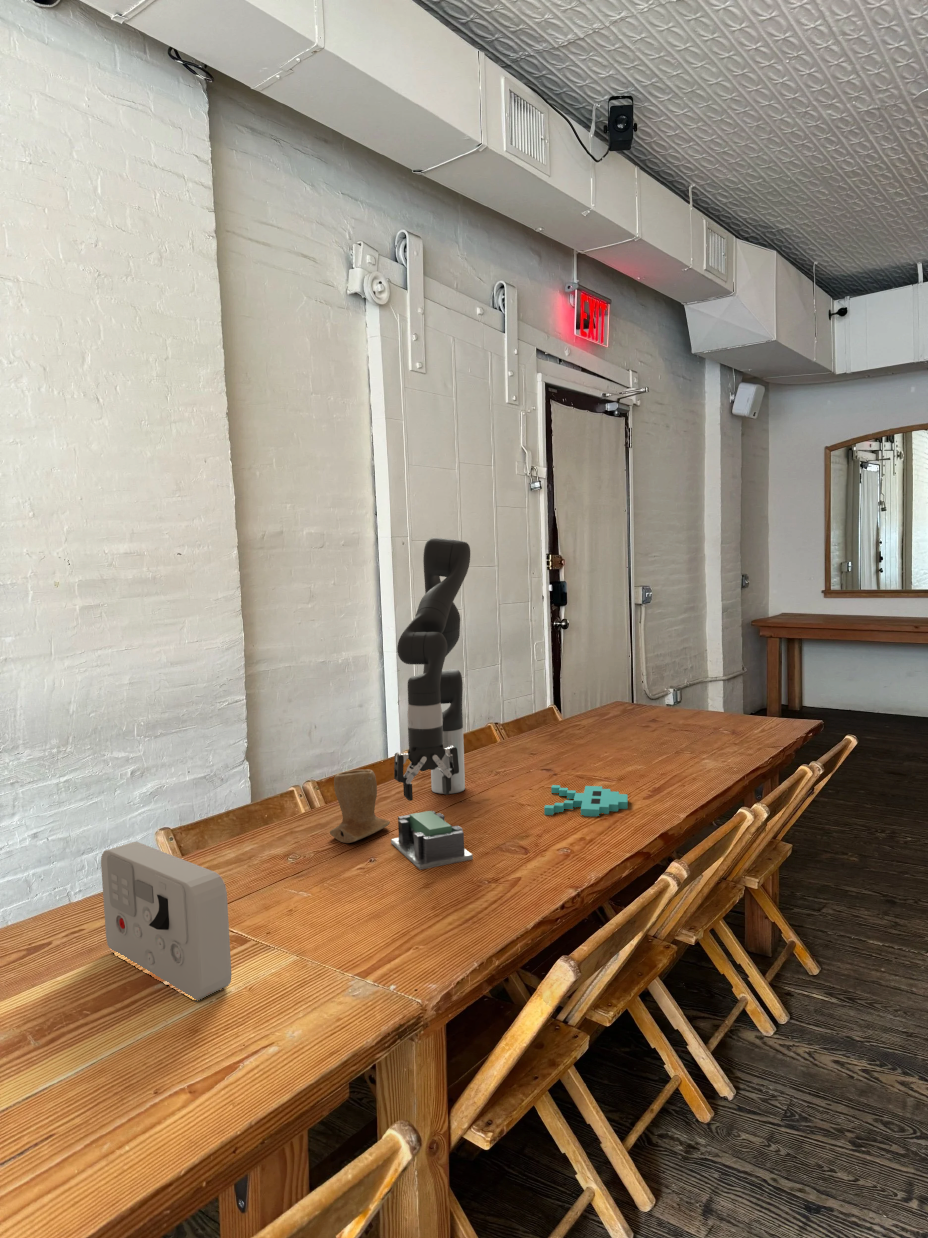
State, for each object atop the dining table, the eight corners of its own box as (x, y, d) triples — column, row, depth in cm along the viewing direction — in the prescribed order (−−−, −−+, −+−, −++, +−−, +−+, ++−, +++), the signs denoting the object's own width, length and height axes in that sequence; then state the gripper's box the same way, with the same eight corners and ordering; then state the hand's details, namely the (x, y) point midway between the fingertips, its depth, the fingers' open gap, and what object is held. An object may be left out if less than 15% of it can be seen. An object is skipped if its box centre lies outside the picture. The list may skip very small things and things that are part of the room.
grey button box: (93, 957, 138) (85, 851, 137) (136, 940, 144) (129, 838, 143) (187, 1014, 120) (180, 892, 119) (233, 991, 126) (226, 875, 124)
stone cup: (357, 821, 205) (354, 761, 204) (396, 828, 199) (394, 766, 198) (316, 840, 192) (313, 776, 191) (356, 848, 186) (353, 782, 185)
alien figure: (544, 816, 205) (627, 819, 201) (544, 808, 205) (627, 810, 201) (552, 793, 225) (627, 795, 221) (552, 785, 224) (627, 787, 220)
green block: (410, 827, 187) (409, 814, 186) (430, 823, 189) (430, 810, 188) (430, 843, 176) (429, 829, 175) (451, 839, 178) (451, 825, 177)
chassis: (391, 843, 188) (390, 817, 188) (440, 834, 193) (439, 809, 193) (419, 869, 172) (418, 841, 171) (472, 859, 177) (471, 831, 176)
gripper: (448, 716, 186) (451, 787, 188) (388, 724, 181) (391, 797, 182) (462, 723, 180) (464, 796, 181) (399, 730, 174) (402, 806, 175)
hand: (427, 796), depth 182 cm, fingers open, 8 cm apart
